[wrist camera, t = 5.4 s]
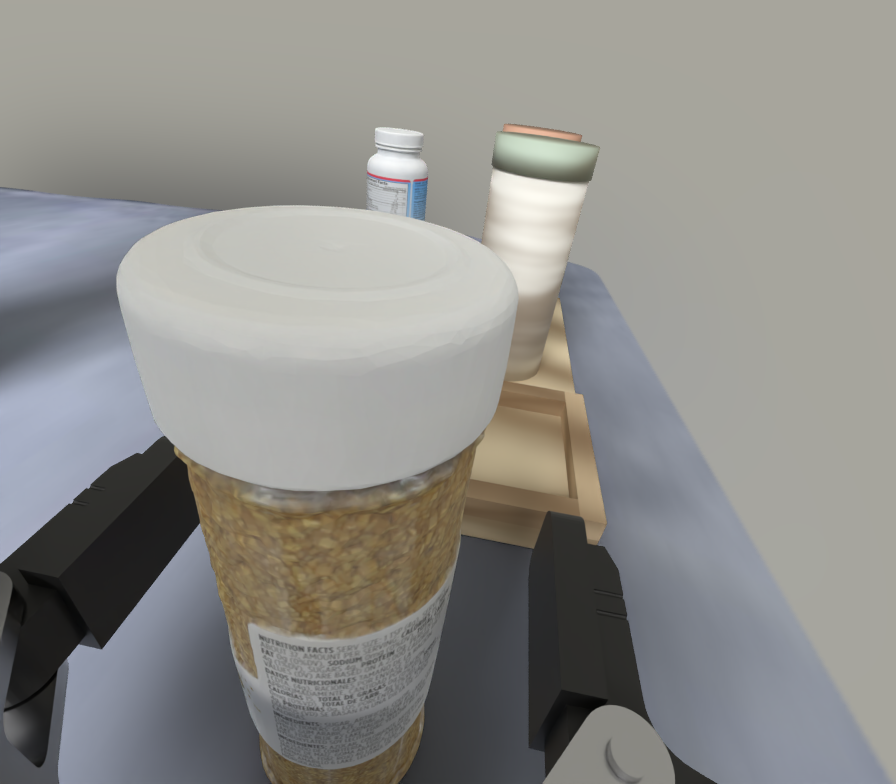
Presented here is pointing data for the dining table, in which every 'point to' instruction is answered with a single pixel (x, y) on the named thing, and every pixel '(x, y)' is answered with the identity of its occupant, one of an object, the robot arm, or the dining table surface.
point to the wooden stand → (535, 347)
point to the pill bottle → (397, 174)
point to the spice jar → (325, 453)
